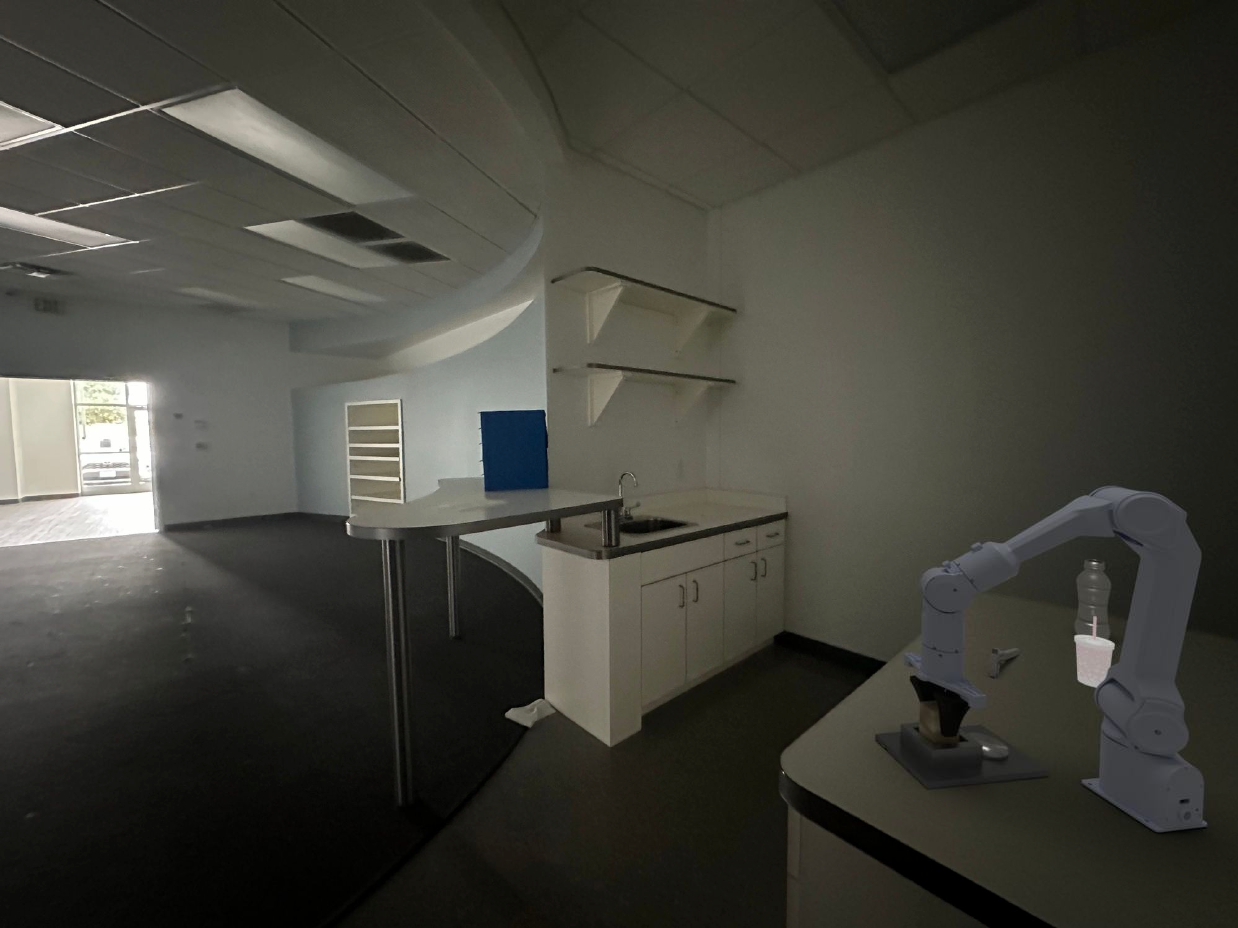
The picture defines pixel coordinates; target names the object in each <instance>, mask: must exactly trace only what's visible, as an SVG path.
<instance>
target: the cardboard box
mask: <svg viewBox="0 0 1238 928" xmlns="http://www.w3.org/2000/svg"><path fill="white" fill-rule="evenodd" d="M918 720H919V721H918V722H919V733H920V734H921V735H922V736H923V737H925V738H926V739H927V740H928V741H930V742H931V743H932V744H933V745H936V744H947V743H958V742H959V732H960V727H961V726H960V727H959V730H958V733H957V736H956V737H944V736H943V735H942V733H941V729H940V715H939V709H938V705H937V702H936V700H934V701H922V702H920V701H919V719H918Z"/></svg>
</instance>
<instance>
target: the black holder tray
mask: <svg viewBox="0 0 1238 928" xmlns="http://www.w3.org/2000/svg"><path fill="white" fill-rule="evenodd" d="M899 727H900V731H895V732H892V731H891V732H883V733H882V732H881V733H874V740H875V739H876V740H877V741H878V742H879V743H880V744H881V745H883V746H884V748H886V749H887V750H888V751H889V752H888V751H887V750H886V749H885V750H886V751H887V752H888V754H890V755H891V757H893V758H894V759H895V760H896V761H897V762H898V763H899V764H900V765H901V766H902V767H904V768H905V770H907V771H908V772H909V774H911V775H912V776H913V777H914V778H915V779H916V780H917V781H918V782H920V783H921V785H923V786H924V787H925V789H927V790H928V789H929V790H930V789H931V790H932V789H938V788H939V789H940V788H950V787H960V786H969V785H979V784H987V783H988V784H989V783H998V782H1007V781H1008V782H1009V781H1017V780H1026V779H1027V780H1028V779H1036V778H1037V779H1038V778H1047V777H1049V772H1050V771H1049V769H1048V768H1046V767H1045V766H1043V765H1042V764H1041V763H1039V762H1037V761H1036V760H1035V759H1033V758H1032V757H1030V756H1028V755H1027V754H1025V753H1024V752H1023V751H1021V750H1019V749H1018V748H1016V747H1015V746H1014V745H1012V744H1011V743H1009V742H1008V741H1006V740H1005V739H1004V738H1002V737H1000V736H998V734H996V733H994V732H993V731H991V730H990V729H988V728H987V727H986V726H984V725H982V724H975V725H974V724H973V725H964V726H961V725H960V732H959V742H958V743H947V744H936V745H933V744H932V743H931V742H930V741H928V740H927V739H926V738H925V737H923V736H922V735H921V734H920V733H919V721H918V722H909V723H908V722H907V723H900V726H899ZM876 740H875V741H876ZM877 741H876V742H877ZM878 742H877V743H878ZM879 743H878V744H879ZM880 744H879V745H880ZM881 745H880V746H881ZM884 748H883V749H884Z"/></svg>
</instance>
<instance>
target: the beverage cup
mask: <svg viewBox="0 0 1238 928" xmlns="http://www.w3.org/2000/svg"><path fill="white" fill-rule="evenodd" d="M1096 621H1097V617H1096V616H1094V617H1093V636H1090V635H1077V634H1075V635H1074V642H1075V647H1076V648H1075V649H1076V650H1075V652H1076V670H1077V671H1076V672H1077V681H1078V682H1079V683H1082V684H1083V685H1085V686H1089V687H1092V688H1095V689H1096V688H1097V686H1098V685H1099V684H1100V683H1101V682H1103V681H1104V679H1105V678H1106V676H1107V672H1108V668H1110V667H1111V666H1112V656H1113V650H1115V643H1114V642H1113V641H1111V640H1110V639H1108V640H1106V639H1103V638H1100V637H1096Z"/></svg>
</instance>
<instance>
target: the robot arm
mask: <svg viewBox="0 0 1238 928" xmlns="http://www.w3.org/2000/svg"><path fill="white" fill-rule="evenodd" d="M1187 516H1188V513H1187V511H1185V510H1184V509H1182V508H1181V507H1180V506H1178V505H1177V504H1176V503H1174V502H1173V501H1171V499H1169V498H1167V497H1165V496H1164V495H1162V494H1159V493H1157V492H1151V491H1141V490H1135V489H1129V488H1126V487H1122V486H1117V485H1107V486H1102V487H1099V488H1096V489H1095V490H1093V491H1092V492H1090V493H1089V494H1088V495H1082V496H1080V497H1077V498H1075V499H1074V500H1072V501H1071V502H1069V503H1067V504H1066V505H1065V506H1063V507H1062V508H1060V509H1059V510H1057V511H1055V512H1054V513H1051V515H1049V516H1046V517H1045V518H1044V519H1042V520H1040V521H1039V522H1036V523H1035V524H1033V525H1031V526H1030V527H1029V528H1027V529H1025V530H1023V531H1022V532H1020V533H1019V534H1016V535H1015V536H1014V537H1013V536H1012V537H1011V538H1009V539H1008V540H1007V541H1005V542H1003V543H1002V542H1001V543H999V542H993V541H987V542H984V543H983V544H982V543H980V542H979V541H978V542H976V543H974V544H972V545H970V548H971V549H972V550H970V551H968V552H965V553H964V554H962V555H960V556H959V557H957V558H955V559H953V560H952V561H949V560H945V561H943V562H942V563H941V564H942V566H943V567H942V566H940V567H933V568H929V569H928V570H926V571H925V572H924V573H923V574H922V577H921V578H920V580H919V581H918V586H919V590H920V591H921V593H922V594H923V596H924V597H923V599H922V600H923V601H922V613H921V631H920V634H921V637H920V641H921V643H920V655H919V654H918V653H915V652H909V653H908V652H906V653H904V654H903V655H904V658H903V660H904V661H903V664H904V665H905V666H906V667H907V668H913V669H915V670H916V671H915V672H914V674H915V675H910V676H909V682H910V683H911V686H913V689H914V691H915V693H916V695H917V698H918V700H919V703H920V702H922V701H934V700H936V702H937V705H938V709H939V715H940V729H941V733H942V735H943V736H944V737H956V736H957V733H958V730H959V727H961V725H962V722H963V720H964V718H965V716H966V714H967V713H968V712H969V711H970V710H971V709H973V710H979V709H980V710H981V709H986V708H987V695H986V694H984V693H983V692H981V691H980V690H979V689H978V688H977V687H976V686H975V685H974V684H973V683H972V682H971V680H969V679H968V678H967V677H966V676H965V675H964V673H965V672H964V669H965V636H966V635H965V630H966V629H965V628H966V627H965V626H966V621H965V610H966V609H967V607H969V605H970V603H971V601H972V597H973V596H978V595H980V594H981V593H984V592H986V591H988V590H990V589H992V588H994V587H995V586H999V584H1001V583H1004V582H1006V581H1008V580H1009V579H1011V578H1014V577H1015V576H1017V575H1018V574H1019V570H1020V567H1021V564H1022V562H1024V561H1027V560H1029V559H1031V558H1034V557H1036V556H1037V555H1040V554H1043V553H1044V552H1047V551H1049V550H1051V549H1053V548H1055V547H1057V546H1061V545H1062V544H1064V543H1066V542H1069V541H1071V540H1073V539H1075V538H1078V537H1101V538H1102V537H1103V538H1112V537H1113V538H1114V537H1115V536H1117V537H1118V538H1120V540H1121V541H1123V542H1124V543H1125V544H1126V545H1127V546H1129V547H1130V548H1131V549H1132V550H1133V551H1134V553H1136V554H1137V555H1138V556H1139V557H1140V561H1139V565H1138V570H1137V574H1136V575H1137V576H1136V580H1135V584H1134V589H1133V592H1132V593H1133V594H1132V599H1131V603H1130V607H1129V609H1130V610H1129V614H1128V620H1127V624H1126V626H1125V627H1126V628H1125V632H1124V633H1125V634H1124V637H1123V642H1122V647H1121V650H1120V651H1121V653H1120V657H1119V660H1118V661H1119V662H1117V663H1115V664H1114V665H1111V666H1110V668H1108V672H1107V676H1106V678H1105V679H1104V681H1103V682H1101V683H1100V684H1099V685H1098V686H1097V688H1096V687H1095V690H1094V694H1093V697H1094V699H1093V700H1094V701H1095V704H1096V706H1097V708H1098V709H1099V710H1100V711H1101V712H1102V713H1103V720H1102V723H1101V725H1100V727H1101V728H1100V751H1099V775H1098V777H1097V778H1088V779H1087V778H1086V779H1081V784H1082V785H1083V786H1084V787H1086V788H1088V789H1090V790H1091V791H1092V792H1094V793H1096V794H1097V795H1099V796H1100V797H1102V799H1104V800H1106V801H1108V802H1109V803H1111V804H1112V805H1114V806H1115V807H1117V808H1119V810H1121V811H1123V812H1125V813H1126V814H1127V815H1129V816H1131V817H1132V818H1133V819H1135V820H1137V821H1139V822H1140V823H1141V824H1143V825H1144V826H1146V827H1147V828H1149V829H1151V830H1152V831H1153V832H1156V833H1164V832H1172V831H1179V830H1187V829H1189V830H1190V829H1197V828H1204V827H1208V823H1207V821H1205V820H1204V819H1203V818H1204V817H1203V815H1204V814H1203V812H1204V797H1205V780H1204V777H1203V775H1202V773H1201V770H1199V769H1198V768H1197V767H1195V766H1194V765H1192V764H1191V763H1189V762H1188V761H1187V760H1185V759H1184V758H1183V757H1182V756H1181V755H1180V754H1179V753H1178V752H1180V751H1182V750H1183V749H1184V748H1185V747H1186V746H1187V745H1188V743H1189V739H1190V733H1189V729H1188V727H1187V725H1186V722H1185V718H1184V715H1185V708H1186V706H1185V703H1184V700H1183V699H1182V697H1181V694H1180V691H1179V689H1178V688H1177V685H1176V682H1175V681H1176V676H1177V672H1178V667H1179V662H1180V658H1181V653H1182V648H1183V644H1184V640H1185V634H1186V630H1187V626H1188V621H1189V617H1190V612H1191V607H1192V602H1193V599H1194V595H1195V589H1196V586H1197V581H1198V577H1199V571H1200V567H1201V562H1202V550H1201V548H1200V547H1199V545H1198V542H1197V541H1196V539H1195V537H1194V535H1193V533H1192V532H1191V529H1190V527H1189V526H1188V523H1187V518H1188V517H1187Z"/></svg>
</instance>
